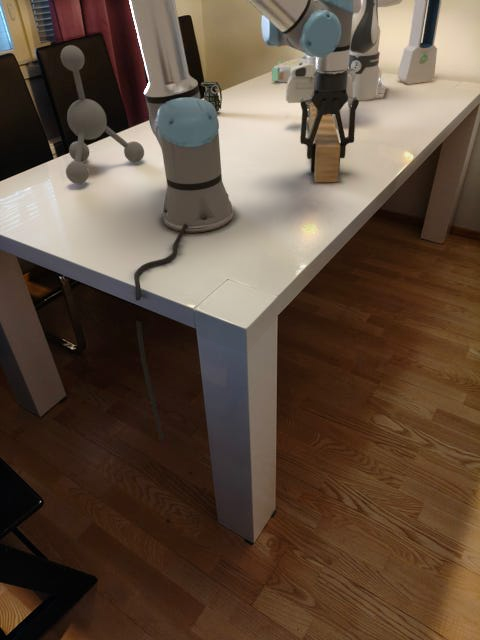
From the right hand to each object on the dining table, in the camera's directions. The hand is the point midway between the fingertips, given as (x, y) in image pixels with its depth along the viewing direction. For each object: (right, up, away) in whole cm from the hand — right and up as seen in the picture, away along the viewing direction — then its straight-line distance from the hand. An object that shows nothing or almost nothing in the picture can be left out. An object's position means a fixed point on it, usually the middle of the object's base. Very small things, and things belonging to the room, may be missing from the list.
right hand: (318, 116), depth 152 cm
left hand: (-3, -25, -28) cm, 38 cm away
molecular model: (-61, -21, -17) cm, 67 cm away
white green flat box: (+1, +41, +58) cm, 70 cm away
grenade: (-34, +10, +21) cm, 41 cm away
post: (-1, -14, -13) cm, 19 cm away
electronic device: (+46, +32, +44) cm, 71 cm away
